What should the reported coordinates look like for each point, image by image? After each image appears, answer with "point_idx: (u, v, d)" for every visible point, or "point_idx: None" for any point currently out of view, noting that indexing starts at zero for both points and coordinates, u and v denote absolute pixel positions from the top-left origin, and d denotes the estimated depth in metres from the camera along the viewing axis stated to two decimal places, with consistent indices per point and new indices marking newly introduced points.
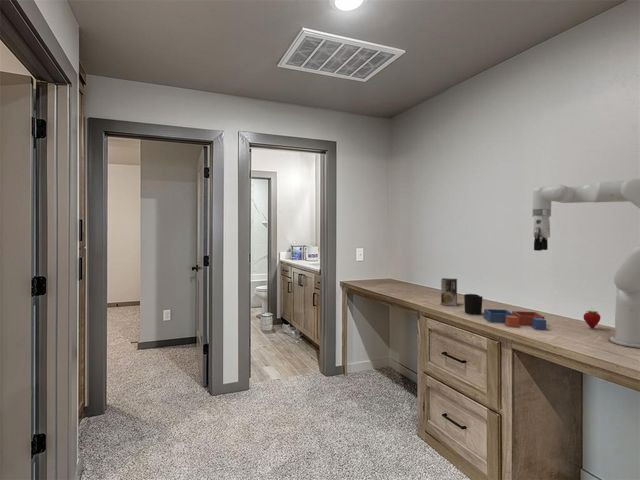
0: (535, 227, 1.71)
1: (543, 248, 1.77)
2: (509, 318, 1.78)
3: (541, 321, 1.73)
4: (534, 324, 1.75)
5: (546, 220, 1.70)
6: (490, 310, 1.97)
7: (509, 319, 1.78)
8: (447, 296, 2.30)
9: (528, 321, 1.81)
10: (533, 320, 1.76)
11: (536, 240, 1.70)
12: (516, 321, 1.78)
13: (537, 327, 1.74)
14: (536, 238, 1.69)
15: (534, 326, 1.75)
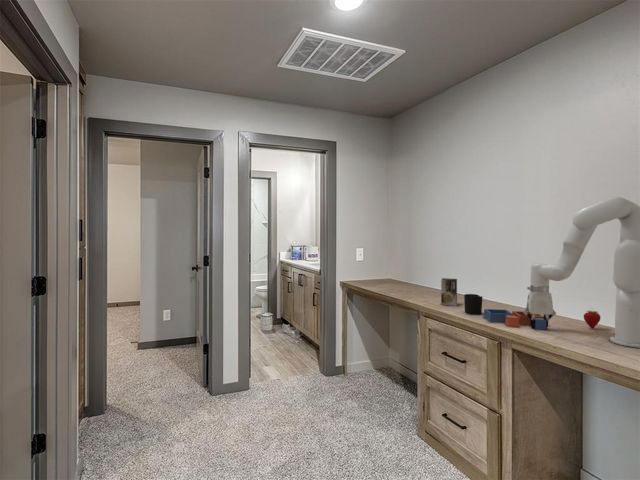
0: (527, 302, 1.77)
1: None
2: (509, 318, 1.78)
3: (541, 321, 1.73)
4: None
5: (535, 297, 1.73)
6: (490, 310, 1.97)
7: (509, 319, 1.78)
8: (447, 296, 2.30)
9: (528, 321, 1.81)
10: None
11: (529, 317, 1.76)
12: (516, 321, 1.78)
13: (537, 327, 1.74)
14: (527, 315, 1.76)
15: None
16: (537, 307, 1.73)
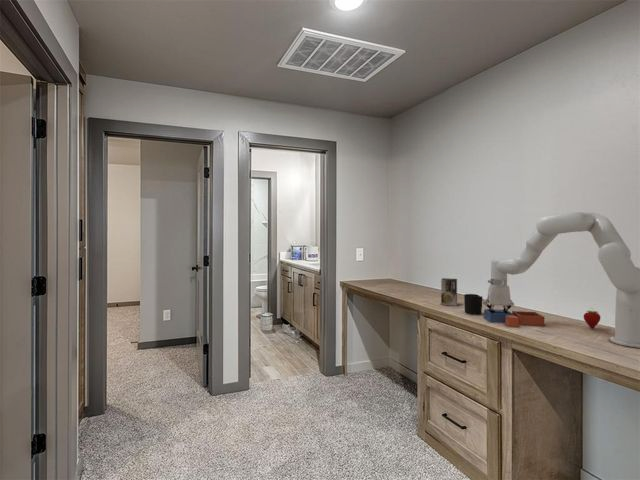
0: None
1: None
2: (509, 318, 1.78)
3: (500, 312, 1.89)
4: None
5: (495, 289, 1.89)
6: None
7: (509, 319, 1.78)
8: (447, 296, 2.30)
9: (528, 321, 1.81)
10: None
11: (489, 308, 1.93)
12: (516, 321, 1.78)
13: None
14: (487, 306, 1.93)
15: None
16: (496, 299, 1.89)
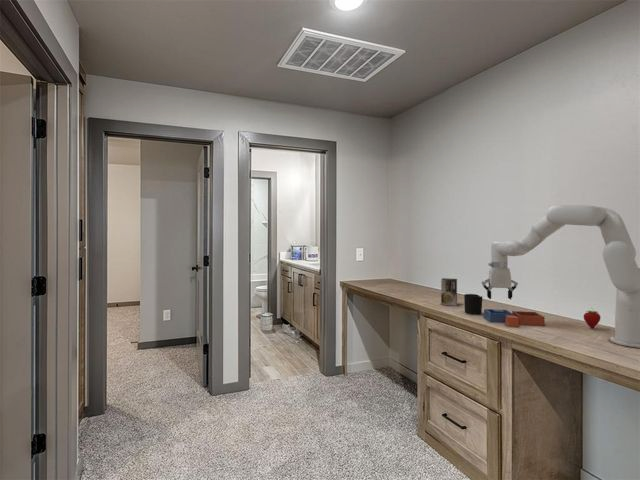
0: None
1: (509, 297, 1.90)
2: (509, 318, 1.78)
3: (500, 312, 1.89)
4: None
5: (495, 272, 1.89)
6: (490, 310, 1.97)
7: (509, 319, 1.78)
8: (447, 296, 2.30)
9: (528, 321, 1.81)
10: (493, 311, 1.92)
11: (486, 289, 1.92)
12: (516, 321, 1.78)
13: None
14: (484, 287, 1.92)
15: None
16: (497, 281, 1.89)
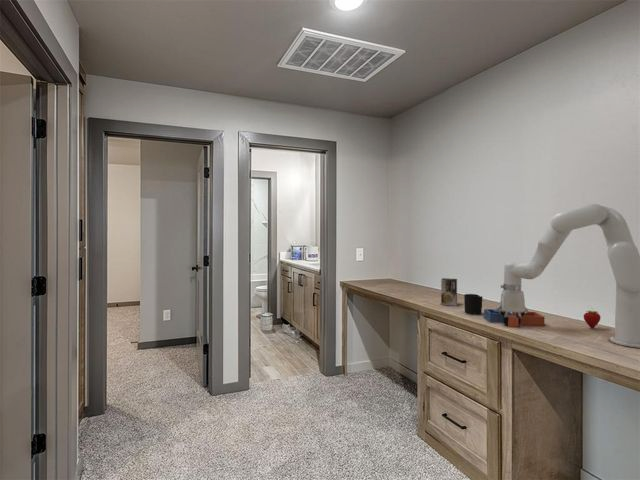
0: None
1: None
2: (509, 318, 1.78)
3: None
4: None
5: (508, 295, 1.78)
6: (490, 310, 1.97)
7: (509, 319, 1.78)
8: (447, 296, 2.30)
9: (528, 321, 1.81)
10: (493, 311, 1.92)
11: None
12: (516, 321, 1.78)
13: None
14: None
15: None
16: (510, 305, 1.78)
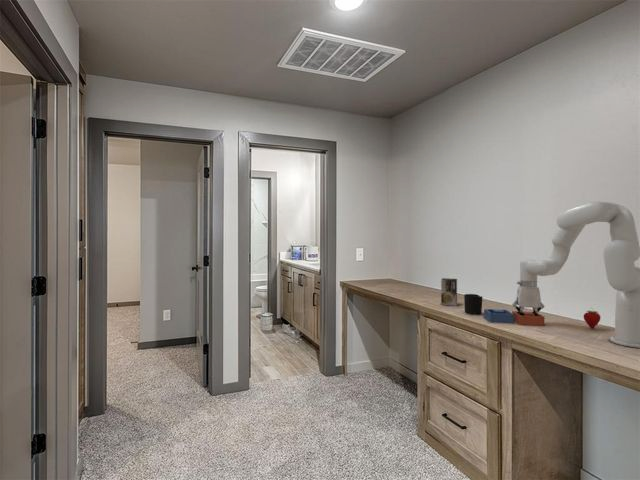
0: None
1: None
2: (525, 314, 1.85)
3: (500, 312, 1.89)
4: None
5: (524, 291, 1.84)
6: (490, 310, 1.97)
7: (525, 315, 1.85)
8: (447, 296, 2.30)
9: (528, 321, 1.81)
10: (493, 311, 1.92)
11: (518, 310, 1.87)
12: None
13: None
14: (516, 308, 1.87)
15: None
16: (526, 301, 1.84)
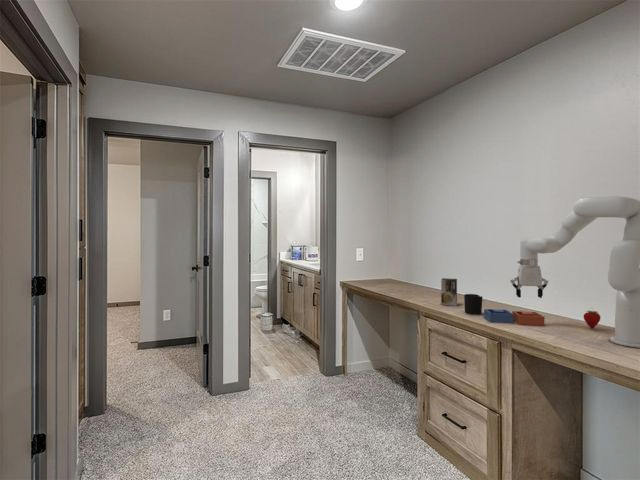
0: None
1: (539, 296, 1.85)
2: (525, 314, 1.85)
3: (500, 312, 1.89)
4: None
5: (525, 270, 1.84)
6: (490, 310, 1.97)
7: (525, 315, 1.85)
8: (447, 296, 2.30)
9: (528, 321, 1.81)
10: (493, 311, 1.92)
11: (515, 287, 1.87)
12: None
13: None
14: (513, 285, 1.87)
15: None
16: (527, 279, 1.83)
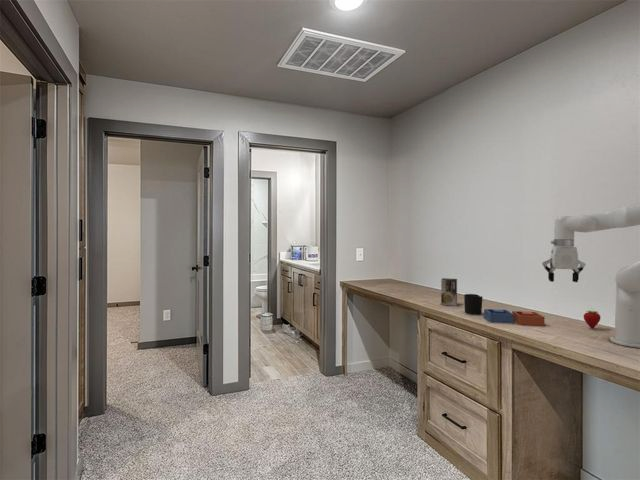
0: (550, 257, 1.69)
1: (574, 280, 1.66)
2: (525, 314, 1.85)
3: (500, 312, 1.89)
4: None
5: (560, 251, 1.65)
6: (490, 310, 1.97)
7: (525, 315, 1.85)
8: (447, 296, 2.30)
9: (528, 321, 1.81)
10: (493, 311, 1.92)
11: (547, 270, 1.68)
12: None
13: None
14: (545, 268, 1.68)
15: None
16: (562, 261, 1.64)
